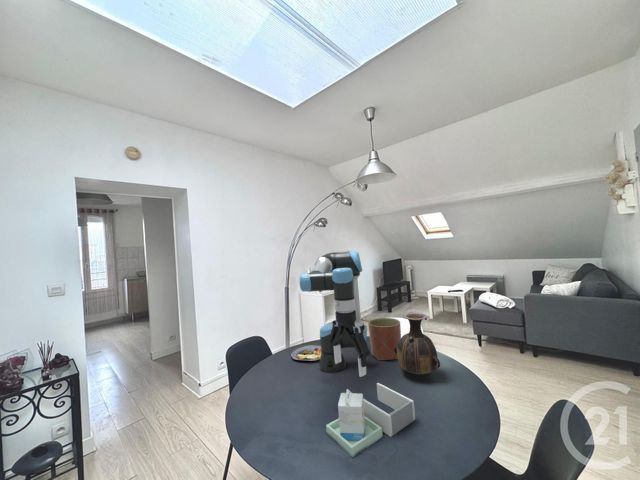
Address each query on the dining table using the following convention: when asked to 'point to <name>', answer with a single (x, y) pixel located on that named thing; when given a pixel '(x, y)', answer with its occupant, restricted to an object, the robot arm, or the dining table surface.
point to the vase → (416, 348)
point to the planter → (384, 337)
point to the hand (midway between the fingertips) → (349, 368)
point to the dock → (395, 419)
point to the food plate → (307, 353)
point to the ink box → (351, 416)
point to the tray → (354, 447)
